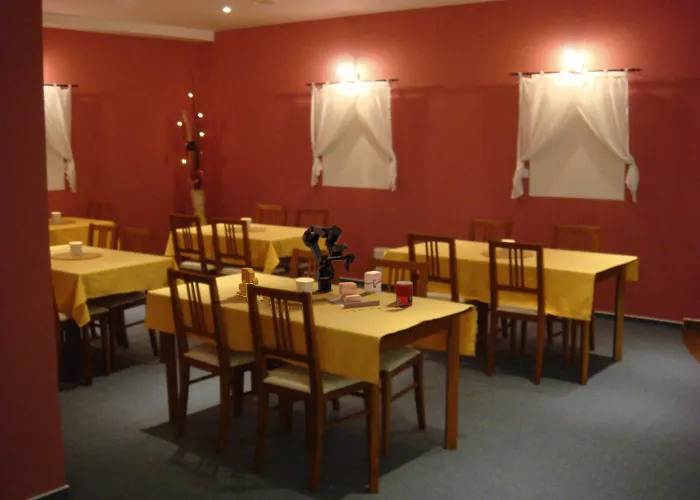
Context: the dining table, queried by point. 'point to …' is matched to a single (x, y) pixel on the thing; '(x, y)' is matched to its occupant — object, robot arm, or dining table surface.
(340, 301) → the board
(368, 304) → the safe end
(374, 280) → the ink box
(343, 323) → the dining table surface
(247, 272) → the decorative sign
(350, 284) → the birch block
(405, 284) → the canned food
